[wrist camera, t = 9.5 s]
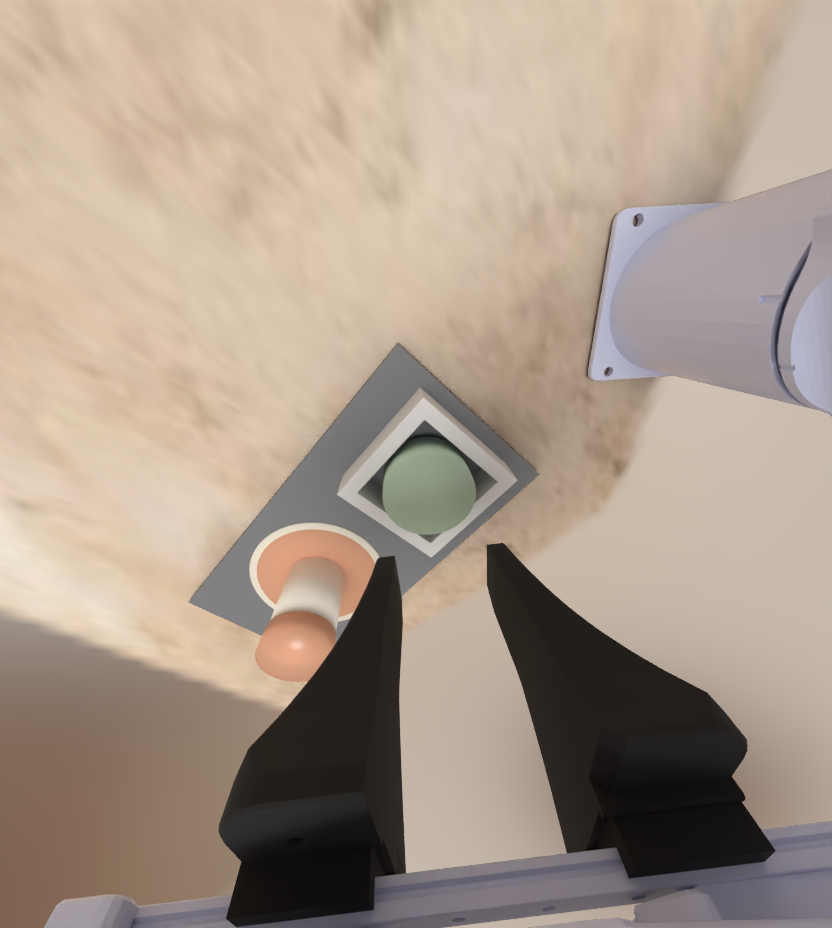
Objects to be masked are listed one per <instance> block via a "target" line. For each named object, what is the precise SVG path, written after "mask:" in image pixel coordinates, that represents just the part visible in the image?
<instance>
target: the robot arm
mask: <svg viewBox="0 0 832 928" xmlns="http://www.w3.org/2000/svg"><path fill="white" fill-rule="evenodd" d="M634 216H637V218H638V223H637V225H636V226H634V225H633V221H632V220H633V218H634ZM608 367H609V371H608V373H607V374H606V375H604V371H605V369H606V368H608ZM588 376H589V378H590V379H591V380H594V381H607V380H620V379H634V378H648V377H662V376H677V377H681V378H686V379H690V380H694V381H698V382H703V383H707V384H711V385H715V386H720V387H724V388H728V389H732V390H736V391H741V392H744V393H749V394H753V395H758V396H761V397H765V398H770V399H774V400H778V401H782V402H787V403H791V404H795V405H799V406H804V407H808V408H812V409H816V410H820V411H823V412H825V413H828V414H829V415H831V416H832V170H828V171H826V172H822V173H819V174H816V175H813V176H810V177H807V178H804V179H800V180H798V181H795V182H791V183H788V184H785V185H782V186H779V187H776V188H773V189H769V190H766V191H763V192H760V193H757V194H754V195H751V196H748V197H744V198H742V199H738V200H735V201H732V202H720V203H703V204H685V205H668V206H651V207H634V208H627V209H624V210H622V211H620V212H619V213H618V214H617V215H616V217H615V218H614V221H613V225H612V231H611V237H610V243H609V249H608V255H607V261H606V267H605V273H604V279H603V285H602V291H601V297H600V302H599V308H598V314H597V320H596V326H595V332H594V338H593V344H592V350H591V356H590V362H589V368H588ZM487 586H488V590H489V594H490V598H491V602H492V605H493V609H494V612H495V615H496V617H497V620H498V623H499V625H500V628H501V631H502V633H503V636H504V638H505V640H506V644H507V646H508V649H509V651H510V654H511V656H512V659H513V661H514V664H515V667H516V669H517V672H518V675H519V678H520V681H521V684H522V686H523V690H524V694H525V697H526V701H527V704H528V707H529V711H530V714H531V718H532V722H533V725H534V729H535V732H536V736H537V739H538V743H539V746H540V750H541V754H542V757H543V761H544V765H545V769H546V773H547V776H548V780H549V784H550V787H551V791H552V795H553V799H554V803H555V807H556V811H557V815H558V819H559V823H560V827H561V830H562V835H563V839H564V843H565V847H566V851H567V854H559V855H551V856H543V857H535V858H527V859H518V860H510V861H502V862H494V863H486V864H478V865H470V866H462V867H454V868H446V869H437V870H429V871H422V872H413V873H406V865H405V846H404V823H403V800H402V777H401V776H402V775H401V749H400V748H401V747H400V717H399V716H400V714H399V682H400V662H401V645H402V625H403V618H402V597H401V589H400V583H399V577H398V571H397V565H396V559H395V556H388V557H380V558H378V559H377V560H376V563H375V566H374V569H373V572H372V575H371V577H370V579H369V582H368V584H367V586H366V589H365V591H364V593H363V595H362V597H361V599H360V601H359V603H358V605H357V607H356V609H355V611H354V613H353V615H352V616H351V618H350V620H349V622H348V624H347V626H346V627H345V629H344V631H343V632H342V634H341V636H340V637H339V639H338V640H337V642H336V644H335V645H334V647H333V648H332V650H331V651H330V653H329V654H328V655H327V657H326V658H325V660H324V661H323V662H322V664H321V665H320V667H319V668H318V669H317V671H316V672H315V673H314V675H313V676H312V677H311V679H310V680H309V681H308V683H307V684H306V685H305V686H304V687H303V689H302V690H301V691H300V692H299V693H298V695H297V696H296V697H295V698H294V699H293V701H292V702H291V703H290V704H289V706H288V707H287V708H286V709H285V710H284V711H283V712H282V714H281V715H280V716H279V717H278V718H277V719H276V720H275V721H274V722H273V723H272V724H271V725H270V727H269V728H268V729H267V730H266V731H265V732H264V733H263V734H262V735H261V736H260V737H259V738H258V739H257V740H256V741H255V743H254V744H252V746H251V747H250V748H249V749H248V751H247V753H246V755H245V758H244V760H243V762H242V764H241V767H240V769H239V771H238V774H237V776H236V778H235V780H234V783H233V786H232V789H231V792H230V795H229V798H228V801H227V803H226V806H225V809H224V813H223V815H222V818H221V821H220V824H219V834H220V836H221V838H222V840H223V842H224V843H225V844H226V845H227V846H228V847H229V849H230V850H231V851H232V852H233V853H234V854H235V855H236V856H237V857H238V858H239V859H240V860H241V861H242V862H241V866H240V869H239V873H238V876H237V880H236V884H235V887H234V891H233V894H232V895H226V896H218V897H210V898H202V899H193V900H185V901H178V902H170V903H161V904H153V905H145V906H137V903H136V902H135V901H134V900H133V899H131V898H130V897H127V896H124V895H116V894H115V895H114V894H110V895H100V896H92V897H84V898H76V899H68V900H63V901H62V902H60V903H59V904H58V905H57V906H56V908H55V909H54V911H53V913H52V914H51V916H50V918H49V920H48V922H47V924H46V925H45V927H44V928H444V927H452V926H460V925H468V924H475V923H484V922H491V921H500V920H508V919H516V918H524V917H531V916H540V915H548V914H556V913H564V912H572V911H581V910H589V909H596V908H605V907H613V906H620V905H629V904H637V903H642V904H639V905H636V906H635V909H634V914H635V919H634V921H631V920H626V919H620V918H614V919H613V918H612V919H594V920H587V921H577V922H570V923H562V924H554V925H545V926H537V927H529V928H832V821H827V822H819V823H811V824H803V825H795V826H787V827H780V828H770V829H762V830H761V829H760V828H759V826H758V825H757V823H756V822H755V820H754V819H753V817H752V816H751V815H750V813H749V812H748V810H747V809H746V807H745V806H744V805H743V803H742V801H744V800H745V796H744V793H743V792H742V790H741V789H740V788H739V786H738V785H737V784H736V782H735V781H734V779H733V778H732V775H733V773H734V772H735V770H736V769H737V767H738V766H739V764H740V763H741V761H742V760H743V759H744V756H745V754H746V752H747V739H746V738H745V737H744V735H743V734H742V733H741V732H740V731H739V729H738V728H737V727H736V726H735V724H734V723H733V722H732V720H731V719H730V718H729V717H728V716H727V714H726V713H725V712H724V711H723V710H722V708H721V707H720V706H719V705H718V704H717V703H716V702H715V701H714V700H713V699H712V698H711V696H710V695H709V694H708V693H707V692H705V691H703V690H701V689H699V688H697V687H695V686H693V685H691V684H689V683H687V682H686V681H684V680H682V679H679V678H678V677H676V676H674V675H672V674H670V673H668V672H666V671H664V670H663V669H661V668H659V667H657V666H656V665H654V664H652V663H650V662H649V661H647V660H645V659H643V658H642V657H640V656H638V655H637V654H635V653H633V652H632V651H630V650H629V649H627V648H625V647H624V646H622V645H621V644H619V643H618V642H616V641H615V640H613V639H612V638H610V637H609V636H607V635H605V634H604V633H602V632H601V631H600V630H598V629H597V628H595V627H594V626H593V625H591V624H590V623H589V622H587V621H586V620H585V619H583V618H582V617H581V616H579V615H578V614H577V613H576V612H574V611H573V610H572V609H570V608H569V607H568V606H567V605H566V604H564V603H563V602H562V601H561V600H560V599H559V598H557V597H556V596H555V595H554V594H553V593H552V592H551V591H550V590H548V589H547V588H546V587H545V586H544V585H543V584H542V583H541V582H540V581H539V580H538V579H537V578H536V577H535V576H534V575H533V574H532V573H531V572H530V571H529V570H528V569H527V568H526V567H525V566H524V565H523V564H522V563H521V562H520V561H519V560H518V559H517V557H516V556H515V555H514V554H513V553H512V552H511V551H510V550H509V549H508V547H507V546H506V545H505V544H503V543H499V544H491V545H487Z"/></svg>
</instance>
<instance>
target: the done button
mask: <svg viewBox="0 0 832 928" xmlns="http://www.w3.org/2000/svg"><path fill="white" fill-rule="evenodd" d="M382 498H383V505H384V508H385V511H386V513H387V514H388V516H389V517H390V519H391V520H392V521H393V522H394V523H395V524H396V525H398V526H399V527H401V528H402V529H404V530H407V531H409V532H412V533H416V534H423V535H431V534H438V533H442V532H445V531H448V530H450V529H452V528H454V527H455V526H457V525H458V524H460V523H461V522H462V521H463V520H464V519H465V518H466V517H467V516H468V514H469V513H470V511H471V510H472V508H473V505H474V503H475V499H476V486H475V482H474V479H473V477H472V474H471V472H470V470H469V468H468V466H467V464H466V461H465V459H464V457H463V455H462V454H461V452H460V451H459V450H458V449H457V448H456V447H455V446H454V445H452V444H451V443H449V442H447V441H445V440H443V439H440V438H436V437H419V438H415V439H411V440H409V441H407V442H405V443H403V444H402V445H401V446H400V447H399V448H398V449H397V450H396V451H395V452H394V453H393V454H392V456H391V457H390V458H389V459H388V460H387V463H386V465H385V469H384V480H383V493H382Z"/></svg>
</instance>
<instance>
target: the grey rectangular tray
mask: <svg viewBox="0 0 832 928" xmlns="http://www.w3.org/2000/svg"><path fill="white" fill-rule="evenodd" d="M419 437H436V438H440V439H443V440H445V441H447V442H449V443H451V444H452V445H454V446H455V447H456V448H457V449H458V450H459V451H460V452H461V454H462V455H463V457H464V459H465V461H466V464H467V466H468V468H469V470H470V472H471V474H472V477H473V479H474V482H475V486H476V499H475V503H474V505H473V508H472V510H471V511H470V513H469V514H468V516H467V517H466V518H465V519H464V520H463V521H462V522H461V523H460V524H458V525H457V526H455V527H454V528H452V529H450V530H448V531H445V532H442V533H438V534H431V535H423V534H416V533H412V532H409V531H407V530H404V529H402V528H401V527H399V526H398V525H396V524H395V523H394V522H393V521H392V520H391V519H390V517H389V516H388V514H387V513H386V511H385V508H384V505H383V498H382V493H383V480H384V469H385V465H386V463H387V460H388V459H389V458H390V457H391V456H392V454H393V453H394V452H395V451H396V450H397V449H398V448H399V447H400V446H401V445H402V444H403V443H405V442H407V441H409V440H411V439H415V438H419ZM538 475H539V473H538V472H537V471H536V470H535V469H534V468H533V467H532V466H531V465H530V464H529V463H528V462H527V461H526V460H525V459H523V458H522V457H521V456H520V455H519V454H518V453H517V452H516V451H515V450H514V449H513V448H511V447H510V446H509V445H508V444H507V443H506V442H505V441H504V440H503V439H502V438H501V437H499V436H498V435H497V434H496V433H495V432H494V431H493V430H492V429H491V428H490V427H489V426H488V425H486V424H485V423H484V422H483V421H482V420H481V419H480V418H479V417H478V416H477V415H476V414H474V413H473V412H472V411H471V410H470V409H469V408H468V407H467V406H466V405H465V404H464V403H463V402H461V401H460V400H459V399H458V398H457V397H456V396H455V395H454V394H453V393H452V392H451V391H449V390H448V389H447V388H446V387H445V386H444V385H443V384H442V383H441V382H440V381H439V380H437V379H436V378H435V377H434V376H433V375H432V374H431V373H430V372H429V371H428V370H427V369H426V368H424V367H423V366H422V365H421V364H420V363H419V362H418V361H417V360H416V359H415V358H414V357H412V356H411V355H410V354H409V353H408V352H407V351H406V350H405V349H404V348H403V347H402V346H400V345H399V344H398V343H397V345H396V346H395V347H394V348H393V350H392V351H391V352H390V353H389V354H388V356H387V357H386V358H385V359H384V361H383V362H382V363H381V364H380V366H379V367H378V368H377V369H376V370H375V372H374V373H373V374H372V375H371V377H370V378H369V379H368V380H367V382H366V383H365V384H364V385H363V387H362V388H361V389H360V390H359V391H358V393H357V394H356V395H355V396H354V398H353V399H352V400H351V401H350V403H349V404H348V405H347V406H346V408H345V409H344V410H343V411H342V412H341V414H340V415H339V416H338V417H337V419H336V420H335V421H334V422H333V424H332V425H331V426H330V427H329V428H328V430H327V431H326V432H325V433H324V435H323V436H322V437H321V438H320V440H319V441H318V442H317V443H316V445H315V446H314V447H313V448H312V449H311V451H310V452H309V453H308V454H307V456H306V457H305V458H304V459H303V461H302V462H301V463H300V464H299V465H298V467H297V468H296V469H295V470H294V472H293V473H292V474H291V475H290V477H289V478H288V479H287V480H286V482H285V483H284V484H283V485H282V486H281V488H280V489H279V490H278V491H277V493H276V494H275V495H274V496H273V498H272V499H271V500H270V501H269V503H268V504H267V505H266V506H265V507H264V509H263V510H262V511H261V512H260V514H259V515H258V516H257V517H256V519H255V520H254V521H253V522H252V523H251V525H250V526H249V527H248V528H247V530H246V531H245V532H244V533H243V535H242V536H241V537H240V538H239V540H238V541H237V542H236V543H235V544H234V546H233V547H232V548H231V549H230V551H229V552H228V553H227V554H226V556H225V557H224V558H223V559H222V560H221V562H220V563H219V564H218V565H217V567H216V568H215V569H214V570H213V572H212V573H211V574H210V575H209V577H208V578H207V579H206V580H205V581H204V583H203V584H202V585H201V586H200V588H199V589H198V590H197V591H196V593H195V594H194V595H193V596H192V598H191V599H190V601H189V603H191V604H193V605H196V606H198V607H200V608H202V609H204V610H207V611H209V612H211V613H213V614H215V615H217V616H220V617H222V618H224V619H226V620H228V621H231V622H233V623H235V624H237V625H239V626H242V627H244V628H246V629H248V630H250V631H253V632H255V633H257V634H259V635H261V636H262V635H263V632H264V630H265V627H266V625H267V624H268V622H269V621H270V619H271V617H272V614H273V612H274V609H275V607H276V604H277V602H278V599H279V597H280V594H281V592H282V589H283V587H284V584H285V582H286V579H287V577H288V574H289V572H290V569H291V568H292V566H293V565H294V564H295V563H296V562H298V561H299V560H301V559H304V558H308V557H323V558H327V559H330V560H332V561H334V562H335V563H337V564H338V565H339V566H340V567H341V568H342V570H343V571H344V574H345V585H344V591H343V596H342V602H341V607H340V613H339V618H338V624H337V629H336V635H337V637H336V642H337V640H338V639H339V637H340V636H341V634H342V632H343V631H344V629H345V627H346V626H347V624H348V622H349V620H350V618H351V616H352V615H353V613H354V611H355V609H356V607H357V605H358V603H359V601H360V599H361V597H362V595H363V593H364V591H365V589H366V586H367V584H368V582H369V579H370V577H371V575H372V572H373V569H374V566H375V563H376V560H377V559H378V558H380V557H388V556H395V559H396V565H397V571H398V577H399V583H400V589H401V596H402V595H403V594H404V593H405V592H406V591H408V590H409V589H410V588H411V587H412V586H413V585H414V584H415V583H417V582H418V581H419V580H420V579H421V578H422V577H423V576H425V575H426V574H427V573H428V572H429V571H430V570H431V569H433V568H434V567H435V566H436V565H437V564H438V563H439V562H440V561H442V560H443V559H444V558H445V557H446V556H447V555H448V554H450V553H451V552H452V551H453V550H454V549H455V548H456V547H458V546H459V545H460V544H461V543H462V542H463V541H464V540H465V539H467V538H468V537H469V536H470V535H471V534H472V533H473V532H475V531H476V530H477V529H478V528H479V527H480V526H481V525H483V524H484V523H485V522H486V521H487V520H488V519H489V518H490V517H492V516H493V515H494V514H495V513H496V512H497V511H498V510H500V509H501V508H502V507H503V506H504V505H505V504H506V503H507V502H509V501H510V500H511V499H512V498H513V497H514V496H515V495H517V494H518V493H519V492H520V491H521V490H522V489H523V488H525V487H526V486H527V485H528V484H529V483H530V482H531V481H532V480H534V479H535V478H536V477H537V476H538Z"/></svg>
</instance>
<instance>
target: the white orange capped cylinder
mask: <svg viewBox="0 0 832 928" xmlns="http://www.w3.org/2000/svg"><path fill="white" fill-rule="evenodd" d="M344 585H345V574H344V571H343V570H342V568H341V567H340V566H339V565H338V564H337V563H335V562H334V561H332V560H330V559H327V558H323V557H308V558H304V559H301V560H299V561H298V562H296V563H295V564H294V565H293V566H292V568H291V569H290V572H289V574H288V577H287V579H286V582H285V584H284V587H283V589H282V592H281V594H280V597H279V599H278V602H277V604H276V607H275V609H274V612H273V614H272V617H271V619H270V621H269V622H268V624H267V625H266V627H265V630H264V632H263V635H262V637H261V640H260V642H259V644H258V647H257V649H256V652H255V659H256V662H257V664H258V666H259V667H260V668H261V669H262V670H263V671H264V672H265V673H267V674H269V675H270V676H272V677H275V678H278V679H281V680H285V681H295V682H298V681H308V680H310V679H311V677H312V676H313V675H314V673H315V672H316V671H317V669H318V668H319V667H320V665H321V664H322V662H323V661H324V660H325V658H326V657H327V655H328V654H329V653H330V651H331V650H332V648H333V647H334V645H335V644H336V637H337V635H336V629H337V624H338V618H339V613H340V607H341V602H342V596H343V591H344Z"/></svg>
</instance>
